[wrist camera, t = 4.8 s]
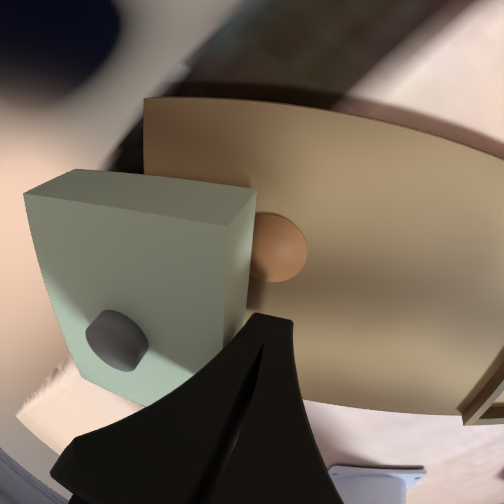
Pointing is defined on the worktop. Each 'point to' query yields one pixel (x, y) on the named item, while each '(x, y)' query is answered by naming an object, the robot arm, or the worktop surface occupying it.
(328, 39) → the worktop surface
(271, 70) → the worktop surface
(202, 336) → the cover
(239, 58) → the worktop surface
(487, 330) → the board
